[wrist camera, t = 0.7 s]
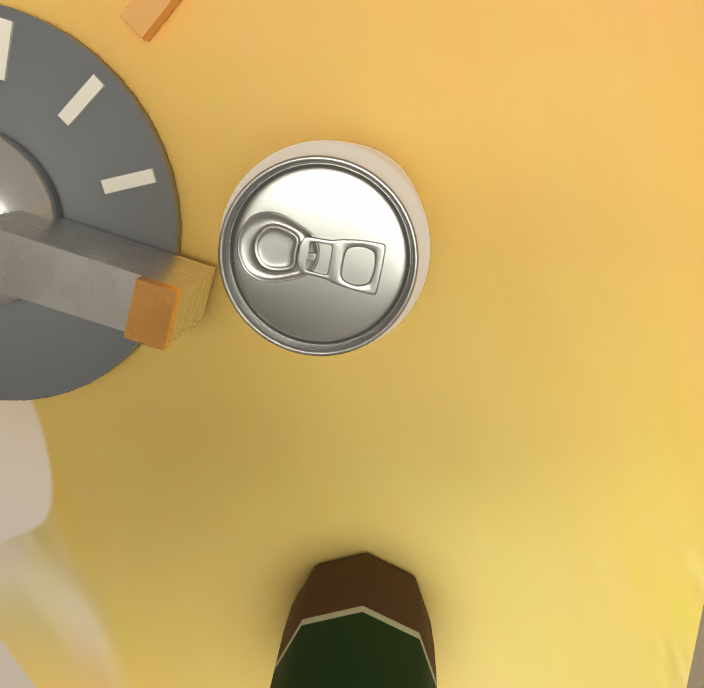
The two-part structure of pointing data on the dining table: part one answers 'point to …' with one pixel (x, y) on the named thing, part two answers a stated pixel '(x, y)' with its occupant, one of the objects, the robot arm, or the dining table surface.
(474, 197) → the dining table surface
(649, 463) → the dining table surface
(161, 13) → the small orange block
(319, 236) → the can
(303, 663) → the beer bottle
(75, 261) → the dial
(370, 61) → the dining table surface
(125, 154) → the dial plate
